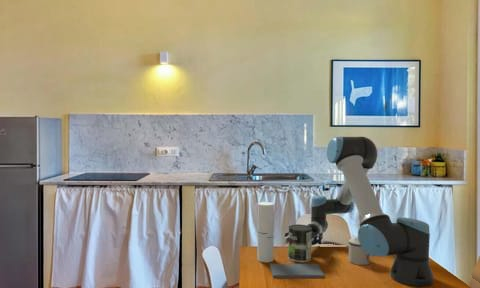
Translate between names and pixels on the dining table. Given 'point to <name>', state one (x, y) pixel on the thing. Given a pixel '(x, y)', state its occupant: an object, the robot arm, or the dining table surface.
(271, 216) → the cylindrical container
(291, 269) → the slate board
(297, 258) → the coffee can
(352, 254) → the teacup with lid
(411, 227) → the robot arm
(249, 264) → the dining table surface
